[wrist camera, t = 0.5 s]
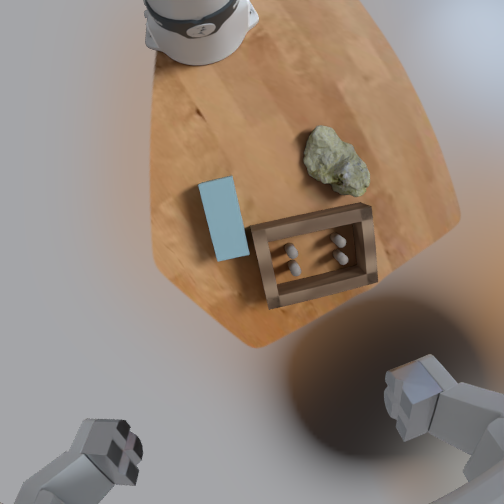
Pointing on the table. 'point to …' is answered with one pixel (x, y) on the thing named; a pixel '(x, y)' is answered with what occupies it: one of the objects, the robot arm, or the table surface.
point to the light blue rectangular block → (224, 218)
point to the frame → (340, 278)
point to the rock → (335, 163)
